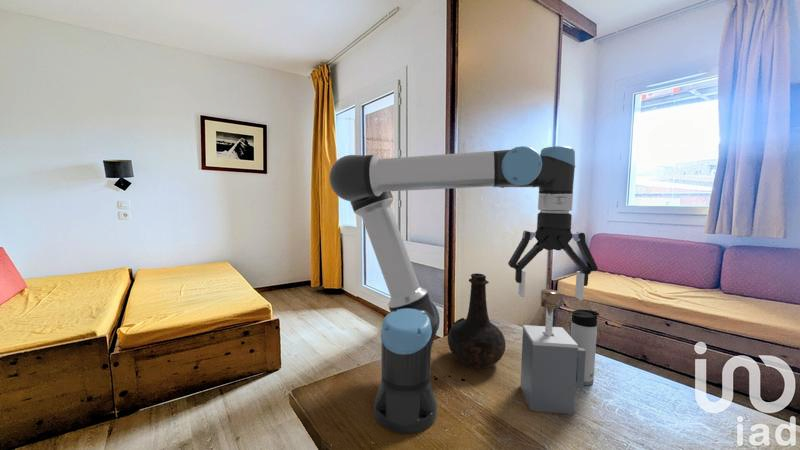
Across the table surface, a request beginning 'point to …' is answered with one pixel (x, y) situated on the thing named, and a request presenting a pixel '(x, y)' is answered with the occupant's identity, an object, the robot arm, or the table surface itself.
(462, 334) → the glass bottle
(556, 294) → the plunger
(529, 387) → the press
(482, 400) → the table surface
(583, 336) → the travel mug
